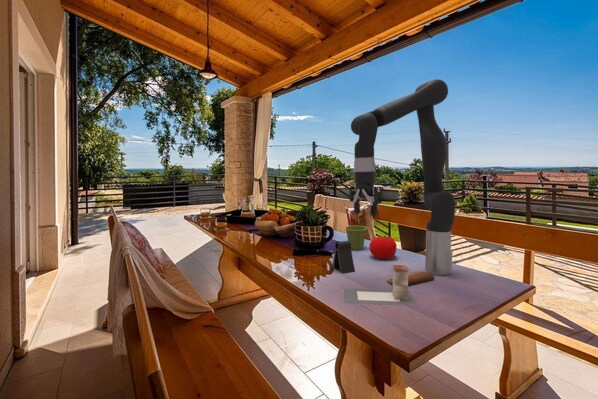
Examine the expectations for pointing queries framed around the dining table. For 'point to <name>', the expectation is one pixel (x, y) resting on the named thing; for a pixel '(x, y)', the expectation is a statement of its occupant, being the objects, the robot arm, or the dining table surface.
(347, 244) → the phone stand
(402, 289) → the ash block
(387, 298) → the rubber mat
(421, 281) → the sunglasses case
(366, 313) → the dining table surface
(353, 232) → the plant pot
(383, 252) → the tomato
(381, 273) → the dining table surface
